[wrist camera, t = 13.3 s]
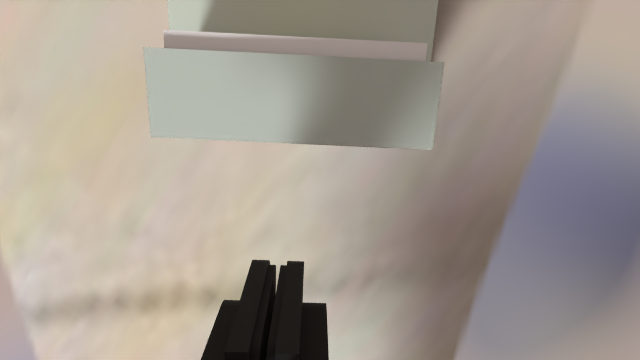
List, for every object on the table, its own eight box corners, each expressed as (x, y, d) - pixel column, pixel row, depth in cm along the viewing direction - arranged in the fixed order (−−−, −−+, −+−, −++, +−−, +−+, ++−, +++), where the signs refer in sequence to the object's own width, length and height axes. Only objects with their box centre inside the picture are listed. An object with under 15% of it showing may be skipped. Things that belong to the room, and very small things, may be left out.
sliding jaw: (403, 128, 18) (432, 149, 14) (193, 118, 18) (150, 137, 13) (412, 49, 17) (446, 43, 12) (189, 38, 17) (141, 27, 12)
